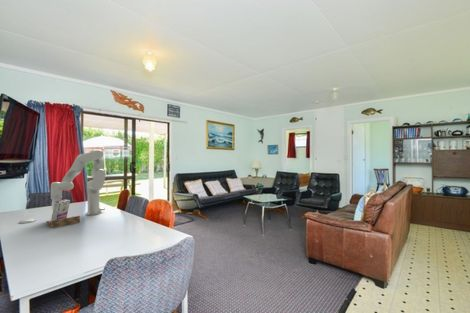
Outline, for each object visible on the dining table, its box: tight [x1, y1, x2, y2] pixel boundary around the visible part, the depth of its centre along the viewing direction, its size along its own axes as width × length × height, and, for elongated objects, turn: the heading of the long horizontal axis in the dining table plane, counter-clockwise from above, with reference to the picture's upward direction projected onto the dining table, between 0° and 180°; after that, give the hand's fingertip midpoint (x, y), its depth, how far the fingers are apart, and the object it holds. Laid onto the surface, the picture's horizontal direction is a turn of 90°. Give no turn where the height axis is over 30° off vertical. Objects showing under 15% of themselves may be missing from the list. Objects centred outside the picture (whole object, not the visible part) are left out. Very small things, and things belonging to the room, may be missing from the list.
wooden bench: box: [46, 215, 81, 228], centre depth 183 cm, size 18×14×5 cm
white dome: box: [18, 218, 37, 224], centre depth 188 cm, size 10×10×1 cm
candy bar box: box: [50, 198, 71, 222], centre depth 191 cm, size 11×5×16 cm, turn 179°
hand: (56, 218), depth 193 cm, fingers closed
